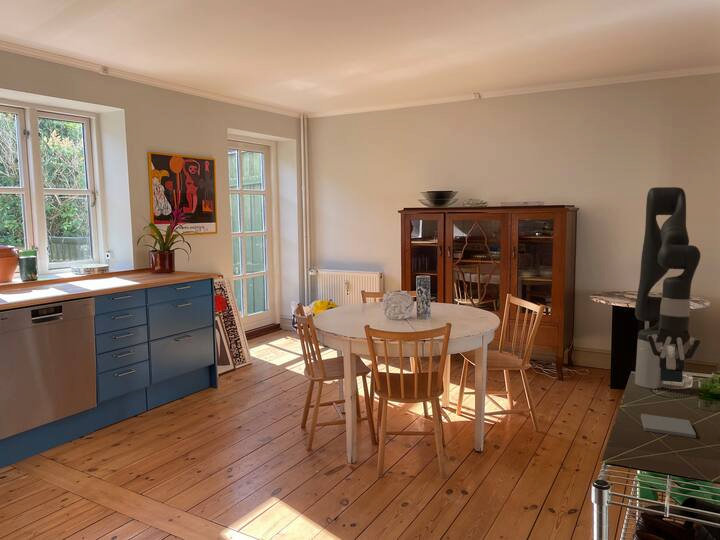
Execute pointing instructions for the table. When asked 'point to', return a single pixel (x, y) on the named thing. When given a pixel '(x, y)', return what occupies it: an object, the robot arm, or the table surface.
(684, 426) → the mat
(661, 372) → the watch
